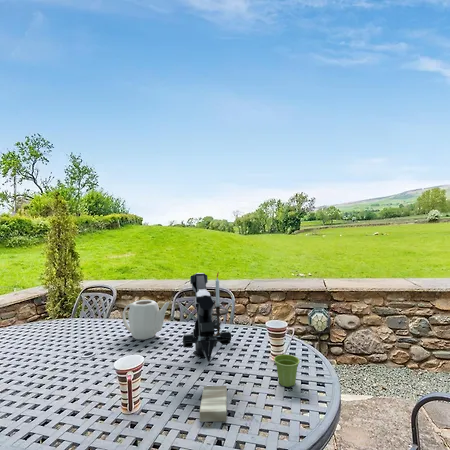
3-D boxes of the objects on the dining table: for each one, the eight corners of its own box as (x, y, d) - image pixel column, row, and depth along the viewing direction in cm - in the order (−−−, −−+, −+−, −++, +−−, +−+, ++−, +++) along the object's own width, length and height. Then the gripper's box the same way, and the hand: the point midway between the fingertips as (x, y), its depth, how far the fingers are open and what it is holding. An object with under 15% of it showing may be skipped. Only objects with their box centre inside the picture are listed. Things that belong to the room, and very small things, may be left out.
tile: (203, 386, 108) (199, 411, 93) (226, 385, 108) (226, 411, 93) (203, 396, 108) (199, 423, 93) (226, 395, 108) (226, 422, 93)
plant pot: (301, 378, 118) (300, 355, 118) (298, 391, 109) (298, 366, 109) (276, 375, 121) (276, 353, 121) (272, 387, 112) (271, 363, 112)
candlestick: (227, 334, 169) (225, 270, 169) (230, 341, 158) (228, 272, 158) (207, 335, 167) (206, 270, 168) (209, 342, 157) (207, 273, 157)
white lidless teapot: (166, 342, 158) (165, 305, 158) (116, 341, 161) (116, 305, 162) (174, 332, 174) (173, 298, 174) (129, 331, 177) (128, 298, 177)
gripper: (182, 314, 119) (183, 354, 108) (230, 311, 122) (236, 350, 111) (182, 327, 127) (183, 366, 116) (227, 324, 130) (232, 362, 119)
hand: (208, 361), depth 115 cm, fingers closed
